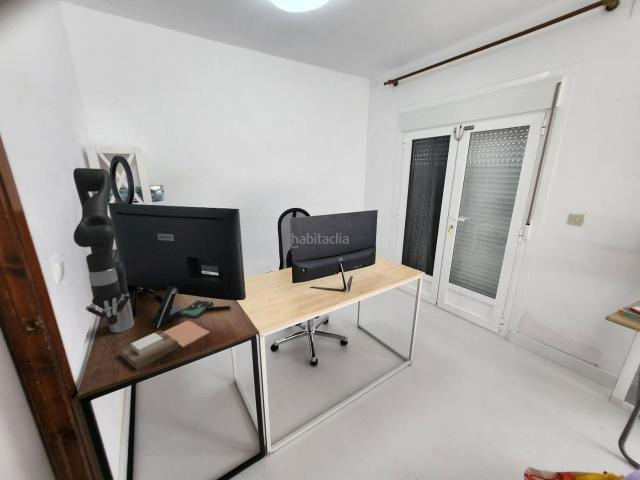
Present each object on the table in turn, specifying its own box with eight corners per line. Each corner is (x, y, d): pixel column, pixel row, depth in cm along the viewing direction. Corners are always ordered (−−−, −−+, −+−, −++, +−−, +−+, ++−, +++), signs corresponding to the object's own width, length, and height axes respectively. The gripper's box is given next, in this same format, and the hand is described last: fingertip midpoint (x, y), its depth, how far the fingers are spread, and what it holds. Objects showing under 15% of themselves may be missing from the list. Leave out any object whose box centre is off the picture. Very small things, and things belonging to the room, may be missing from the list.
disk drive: (197, 304, 149) (180, 317, 135) (196, 300, 148) (179, 312, 134) (213, 306, 148) (198, 319, 133) (213, 301, 147) (197, 314, 133)
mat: (161, 333, 120) (161, 332, 120) (188, 321, 130) (188, 320, 130) (182, 347, 110) (182, 346, 110) (209, 332, 121) (209, 331, 121)
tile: (131, 348, 105) (131, 343, 104) (155, 337, 112) (154, 332, 112) (139, 354, 101) (139, 349, 101) (163, 343, 108) (162, 338, 108)
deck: (120, 355, 105) (119, 348, 104) (161, 335, 118) (160, 330, 118) (137, 370, 97) (136, 363, 97) (178, 347, 110) (178, 341, 110)
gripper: (121, 273, 98) (128, 313, 102) (76, 284, 87) (86, 329, 91) (130, 277, 94) (137, 319, 98) (83, 289, 83) (94, 336, 87)
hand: (112, 324), depth 95 cm, fingers closed
